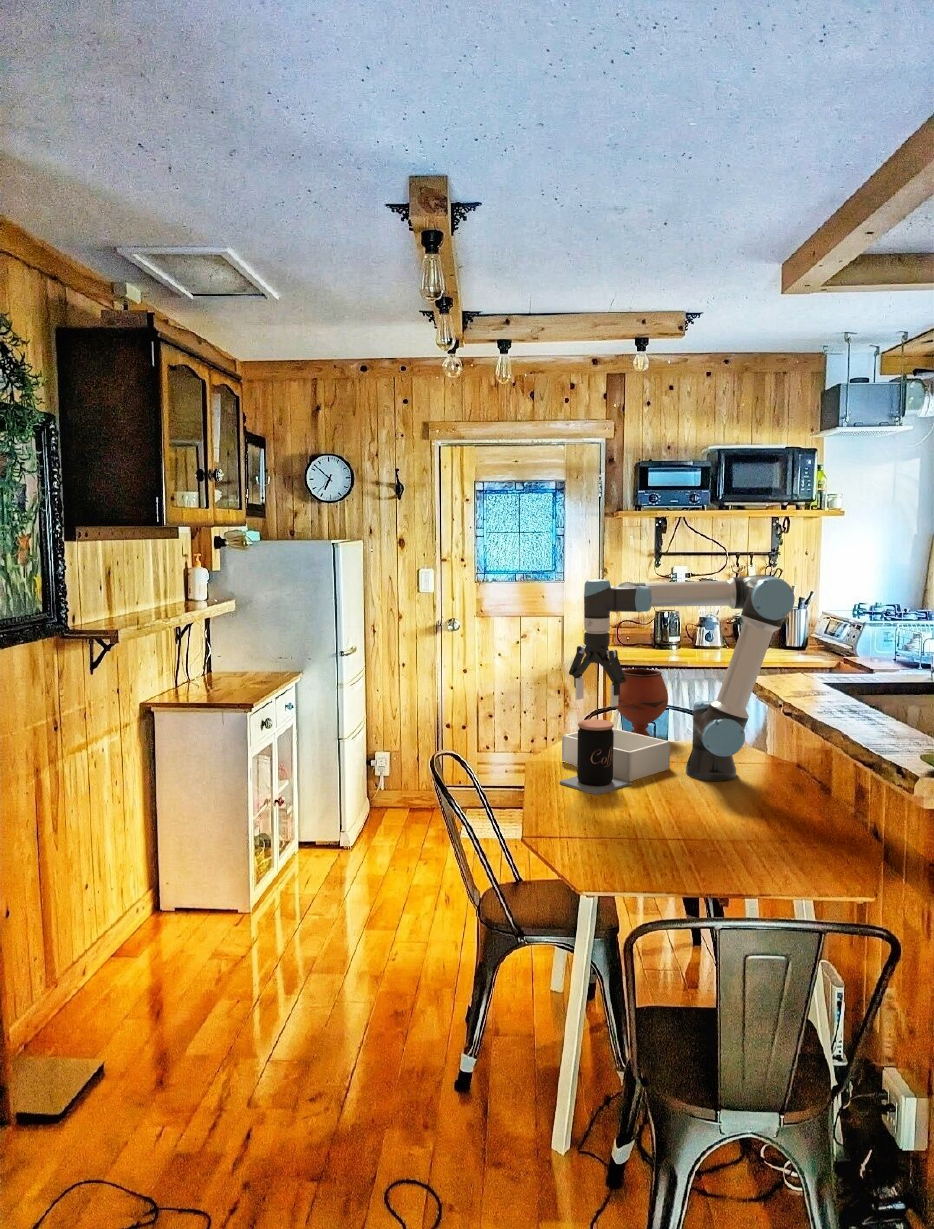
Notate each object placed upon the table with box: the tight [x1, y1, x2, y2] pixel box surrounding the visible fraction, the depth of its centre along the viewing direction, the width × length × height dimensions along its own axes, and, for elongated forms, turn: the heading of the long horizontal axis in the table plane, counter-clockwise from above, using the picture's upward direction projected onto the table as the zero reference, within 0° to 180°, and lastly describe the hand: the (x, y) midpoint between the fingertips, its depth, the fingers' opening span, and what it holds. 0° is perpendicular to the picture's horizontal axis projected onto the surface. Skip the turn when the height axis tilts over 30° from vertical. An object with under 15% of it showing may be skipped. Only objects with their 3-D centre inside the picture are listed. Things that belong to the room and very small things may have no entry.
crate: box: [561, 727, 671, 782], centre depth 284 cm, size 28×20×9 cm
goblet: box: [615, 668, 669, 737], centre depth 316 cm, size 19×19×25 cm
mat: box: [559, 775, 632, 796], centre depth 264 cm, size 15×15×1 cm
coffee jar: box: [576, 718, 615, 786], centre depth 263 cm, size 11×11×18 cm
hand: (596, 702), depth 262 cm, fingers open, 13 cm apart
